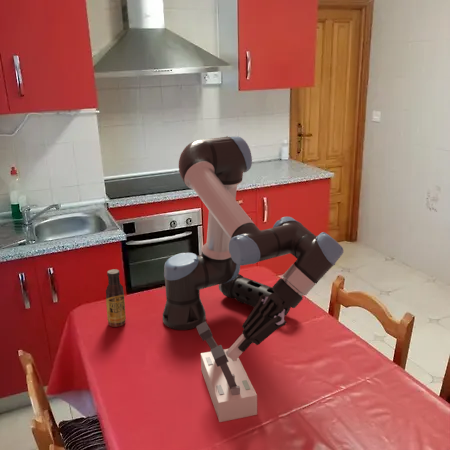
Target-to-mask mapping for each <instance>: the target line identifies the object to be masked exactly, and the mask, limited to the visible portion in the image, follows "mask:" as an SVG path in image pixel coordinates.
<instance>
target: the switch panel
mask: <svg viewBox="0 0 450 450" xmlns="http://www.w3.org/2000/svg"><path fill="white" fill-rule="evenodd" d="M228 349H229V348H223V350H224V352H225V355H226V352H227V350H228ZM226 357H227V359H228V361H229V362H227V365H228V367H229V369H230V371H231V374H232V376H233V378H234V380H235V383H236V385H237V386H235V387H232V389H230V387H229V385H228V382H227V380H226V378H225V376H224V374H223V371H222V369H221V367H220V366H218V367H217V364H216V362H215V360H214V358H213V355H212V353H211V351H206V352H201V353H200V366H201V367H200V369H201V370H200V371H201V373H202V376H203V379H204V383H205V384H206V388H207V391H208V393H209V396H210V398H211V403H212V404H213V405H212V406H213V407H214V411H215V414H216V416H217V418H218V419H217V420H218V422H219V423H222V422H228V421H231V420H237V419H242V418H247V417H251V416H256V415H258V394H257V393H256V390H255V388H254V386H253V384H252V382H251V380H250V378H249V376H248V374H247V371H246V370H245V368H244V366H243V363H242V361H241V360H240V358H239V357H240V356H239V357H238V358H237V359H236V360H235V361H234V360H232V359H231V358H229V357H228V356H227V355H226Z"/></svg>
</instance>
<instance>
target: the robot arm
mask: <svg viewBox="0 0 450 450" xmlns="http://www.w3.org/2000/svg"><path fill="white" fill-rule="evenodd" d="M252 158H253V156H252V152H251V149H250V147H249V145H248V143H247V141H246V140H245V139H244V138H243V137H241V136H239V135H235V136H231V135H226V136H220V137H214V138H212V137H211V138H204V139H197V140H194V141H192V142H190V143H189V144H187V145H186V146H185V147H184V149H183V150H182V152H181V153H180V156H179V159H178V173H179V175H180V178H181V180H182V181H183V183H184V184H185V185H186V187H188V189H190V190H193V191H194V192H195V193H196V195H197V196H198V198H199V199H200V200H201V202H202V203H203V204H204V206H205V207H206V208H207V210H208V216H207V217H208V219H207V230H206V231H207V232H206V243H204V244H203V245H202V247H201V254H198V255H197V254H196V253H193V252H188V251H187V252H180V253H177V254H174V255H172V256H170V257H169V258H168V259H166V261H165V263H164V267H163V269H164V272H163V276H164V283H165V284H164V285H165V296H166V297H165V298H166V301H165V305H164V308H163V311H162V312H163V313H162V322H163V324H164V326H166V327H167V328H169V329H172V330H176V331H177V330H178V331H185V330H192V329H195V328H196V326H198V325H200V324H201V323H203V322H205V321H206V317H207V315H206V309H205V307H204V305H203V302H202V300H201V295H200V291H201V290H203V289H206V288H210V287H214V286H219V284H222V283H226V282H229V281H231V280H234V279H235V278H236V277H237V276H238V274H240V271H241V266H248V265H255V264H257V263H259V262H263V261H266V260H270V259H274V258H279V257H282V256H286V255H289V254H291V255H292V256H293V257H294V258H295V259H296V260H295V261H294V262H293V263H292V264H291V265H290V266H289V268H288V269H287V270H286V271H285V272H284V273H283V274H282V277H283V278H279V279H278V280H277V281H276V282H275V283H274V284H273V285H272V286H271V287H272V290H273V291H274V292H273V293H272V294H270V295H269V296H268V297H265V296H264V295H261V297H260V299H259V301H258V303H257V304H256V306H255V307H253V309H252V310H251V312H249V313H250V314H248V316H247V317H246V319H245V320H244V322H243V324H242V325H241V327H242V329H243V330H242V333H241V334H240V335H239V336H238V337H237V339H236V340H235V341H234V342H233V344H232V345H231V346H230V347H229V348H227V349H228V350H227V352H226V355H227V356H228V357H229V358H231V359H232V360H234V361H235V360H236V359H237V358H238V357H240V356H241V355H242V353H243V352H246V350H247V349H248V348H249V347H250V346H251V345H252V344H255V345H256V346H259V345H260V344H261V343H262V342H263V341H265V340H266V339H268V337H270V336H271V335H272V334H273V333H274V332H276V331H277V330H279V328H281V327H283V326H286V324H287V320H285V317H284V315H285V314H286V313H287V311H288V309H289V308H290V309H295V308H296V307H297V306H298V305H299V304H300V303H301V302H302V301H303V298H304V297H303V296H307V295H308V294H309V292H311V291H312V289H313V288H314V287H315V286H316V285H317V283H319V281H320V280H321V279H322V278H323V277H324V276H325V275H326V274H328V272H329V270H331V268H332V267H334V266H335V265H336V263H337V262H338V261H339V259H341V257H342V255H343V254H344V247H343V246H342V245H341V244H340V243H339V242H338V241H337V240H336V239H335V238H333V237H332V236H331V235H329V234H328V233H327V232H325V231H322V232H320V233H319V234H318V235H315V234H314V233H313V232H312V231H310V230H309V229H308V228H307V227H306V226H304V225H303V223H302V222H300V221H298V220H296V219H294V217H292V216H283V217H280V219H278V220H276V222H275V223H274V224H273V226H272V227H269V228H266V229H265V228H264V229H260V228H259V227H258V226H257V224H255V223H254V221H253V220H252V219H251V217H250V216H249V215H248V214H247V212H245V210H244V209H243V207H242V206H241V205H240V204H239V202H238V201H237V199H236V198H237V187H238V185H239V184H241V183H242V182H243V177H244V175H243V174H244V173H247V172H248V171H249V170H250V169H251V168H252V166H253V165H252V164H253V159H252ZM196 329H197V328H196Z"/></svg>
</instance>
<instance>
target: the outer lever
mask: <svg viewBox="0 0 450 450" xmlns="http://www.w3.org/2000/svg"><path fill="white" fill-rule="evenodd" d="M223 349H224V348H223V346H222V344H218V346H217V347H215V348H213V349H211V348H210V352H211V353H212V355H213V358H214V360H215V362H216V364H217V367H218V366H220V367H221V369H222V371H223V374H224V376H225V378H226V380H227V382H228V385H229V387H230V389H232V387H235V386H237V385H236V383H235V380H234V378H233V376H232V374H231V371H230V369H229V367H228V365H227V362H229V361H228V359H227V357H226V355H225V352H224V350H223Z"/></svg>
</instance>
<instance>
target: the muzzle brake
mask: <svg viewBox="0 0 450 450" xmlns="http://www.w3.org/2000/svg"><path fill="white" fill-rule="evenodd" d="M272 287H273V286H269V285H267V284H264V283H261V282H258V281H256V280H253V279H251V278H249V277H248V278H247V277H244V276H243V275H242V274H240V273H239V274H238V276H237V277H236V278H235V279H234V280H231V281H229V282H226V283H222V284H218V289H219V291H220V292H221V293H222V295H223V296H225V297H227V298H230V299H232V300H236V301H237V302H239V303H241V304H243V305H244V304H245V305H248V306H250V307H252V308H254V307H255V306H256V304H257V303H258V301H259V299H260V297H261V295H264V296H265V297H268V296H269V295H270V294H272V293H273V292H274V291H273V290H272ZM290 310H291V308H289V309H288V311H287V313H286V314H285V315H284V318H285V317H286V316H287V315H288V313H289V312H290Z"/></svg>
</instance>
